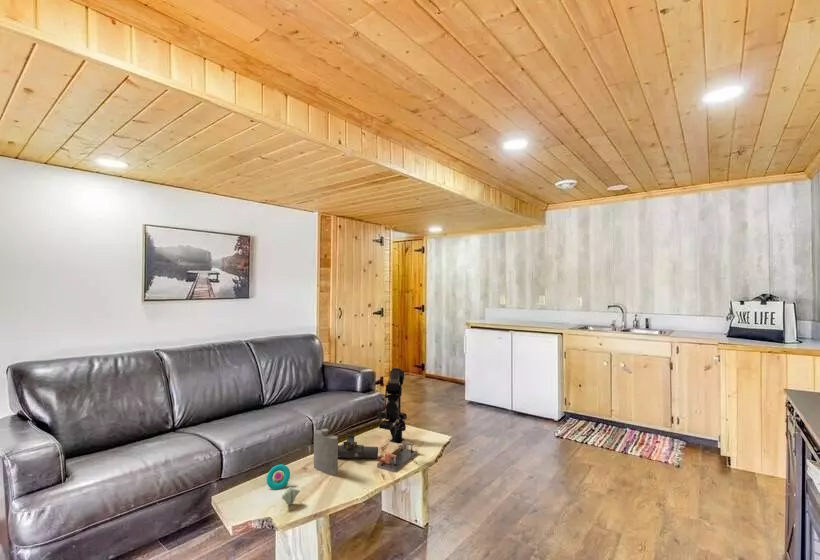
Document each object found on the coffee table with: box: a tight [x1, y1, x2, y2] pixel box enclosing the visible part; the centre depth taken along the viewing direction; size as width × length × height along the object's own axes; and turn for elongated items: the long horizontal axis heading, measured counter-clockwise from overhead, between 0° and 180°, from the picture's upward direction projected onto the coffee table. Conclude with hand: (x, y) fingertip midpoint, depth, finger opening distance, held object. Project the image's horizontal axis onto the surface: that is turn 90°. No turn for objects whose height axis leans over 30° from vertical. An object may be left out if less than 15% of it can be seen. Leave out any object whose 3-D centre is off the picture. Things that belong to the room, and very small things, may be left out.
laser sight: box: [338, 434, 379, 460], centre depth 213 cm, size 10×22×10 cm, turn 86°
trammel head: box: [380, 452, 396, 464], centre depth 203 cm, size 2×8×4 cm, turn 61°
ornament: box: [266, 463, 291, 490], centre depth 184 cm, size 11×4×10 cm
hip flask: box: [313, 428, 339, 477], centre depth 198 cm, size 16×4×20 cm, turn 52°
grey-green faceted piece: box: [281, 486, 301, 506], centre depth 168 cm, size 8×4×7 cm, turn 130°
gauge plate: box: [376, 440, 419, 473], centre depth 209 cm, size 24×10×6 cm, turn 151°
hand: (393, 437), depth 210 cm, fingers closed
